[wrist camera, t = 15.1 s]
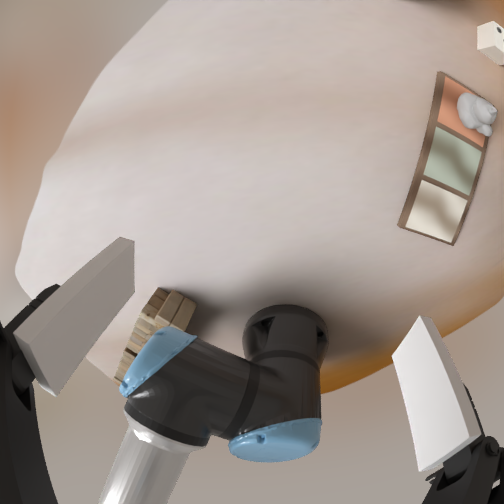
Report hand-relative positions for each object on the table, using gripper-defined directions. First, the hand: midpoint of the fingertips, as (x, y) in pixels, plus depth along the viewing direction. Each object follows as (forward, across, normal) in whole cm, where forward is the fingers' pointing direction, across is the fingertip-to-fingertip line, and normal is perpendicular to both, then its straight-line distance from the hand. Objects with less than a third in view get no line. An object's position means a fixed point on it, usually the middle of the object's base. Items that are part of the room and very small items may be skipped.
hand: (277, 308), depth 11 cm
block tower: (+28, +18, +37) cm, 50 cm away
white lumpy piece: (+26, -22, -19) cm, 39 cm away
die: (+27, -26, -34) cm, 50 cm away
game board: (+27, -22, -11) cm, 37 cm away
